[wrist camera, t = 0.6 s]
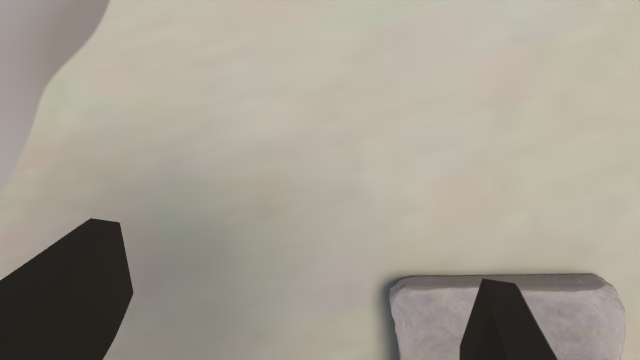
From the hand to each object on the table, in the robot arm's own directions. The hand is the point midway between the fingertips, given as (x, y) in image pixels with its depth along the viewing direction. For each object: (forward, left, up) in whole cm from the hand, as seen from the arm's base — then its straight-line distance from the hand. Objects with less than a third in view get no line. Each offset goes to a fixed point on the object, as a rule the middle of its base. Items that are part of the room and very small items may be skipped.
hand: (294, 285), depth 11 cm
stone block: (-9, -8, -22) cm, 25 cm away
